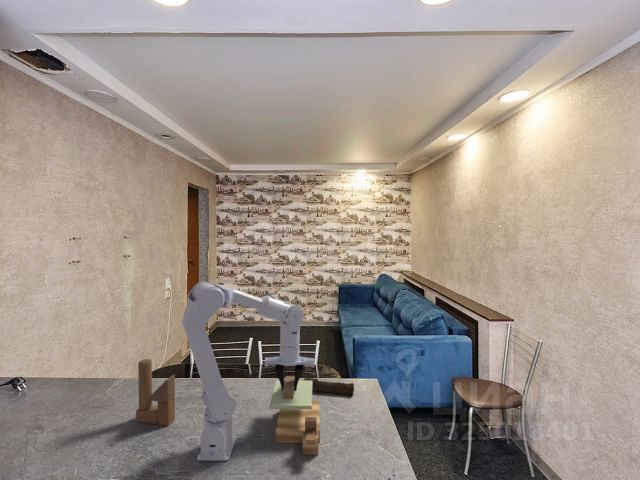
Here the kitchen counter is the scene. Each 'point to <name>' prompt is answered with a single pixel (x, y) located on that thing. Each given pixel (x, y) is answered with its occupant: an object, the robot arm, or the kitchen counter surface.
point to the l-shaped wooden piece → (310, 430)
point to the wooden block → (155, 397)
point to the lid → (292, 395)
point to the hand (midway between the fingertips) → (289, 389)
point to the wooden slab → (298, 427)
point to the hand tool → (331, 387)
